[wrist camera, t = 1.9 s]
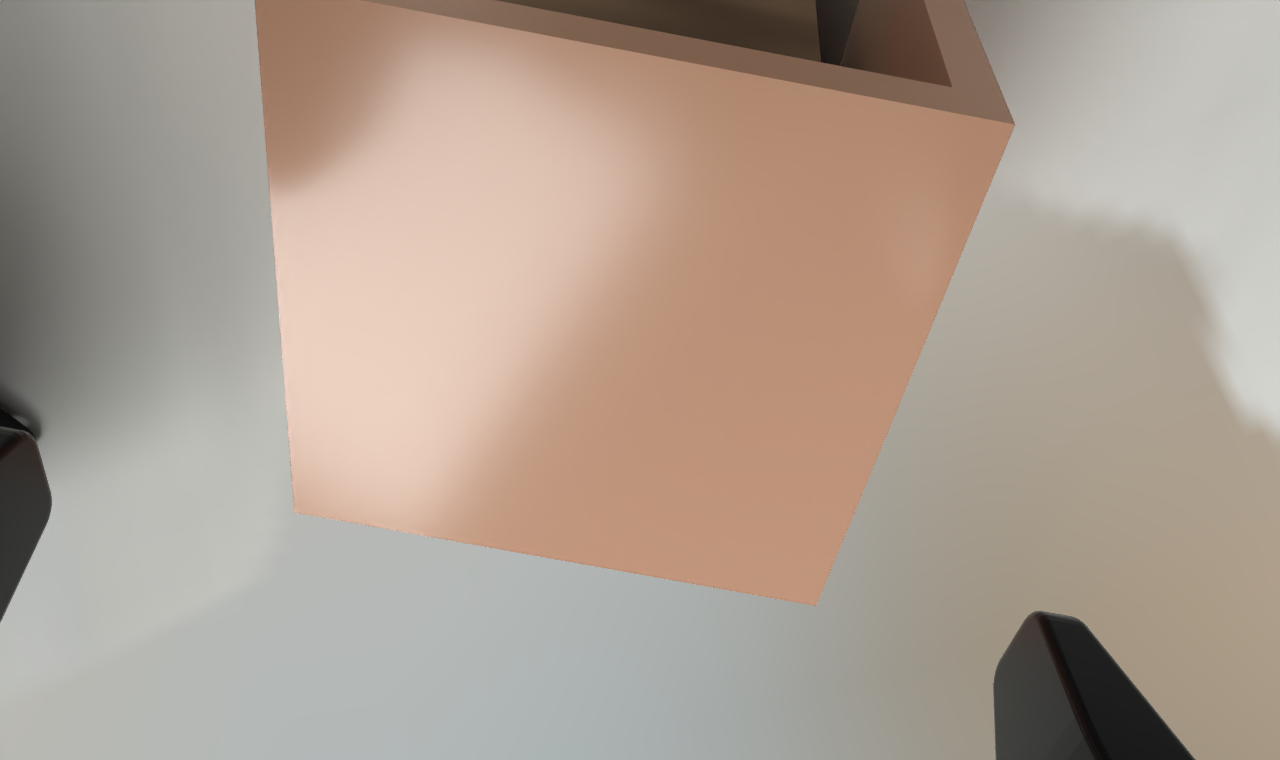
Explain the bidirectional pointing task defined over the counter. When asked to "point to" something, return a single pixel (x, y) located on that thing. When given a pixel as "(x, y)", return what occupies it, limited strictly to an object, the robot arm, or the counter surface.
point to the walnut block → (710, 20)
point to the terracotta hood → (611, 273)
